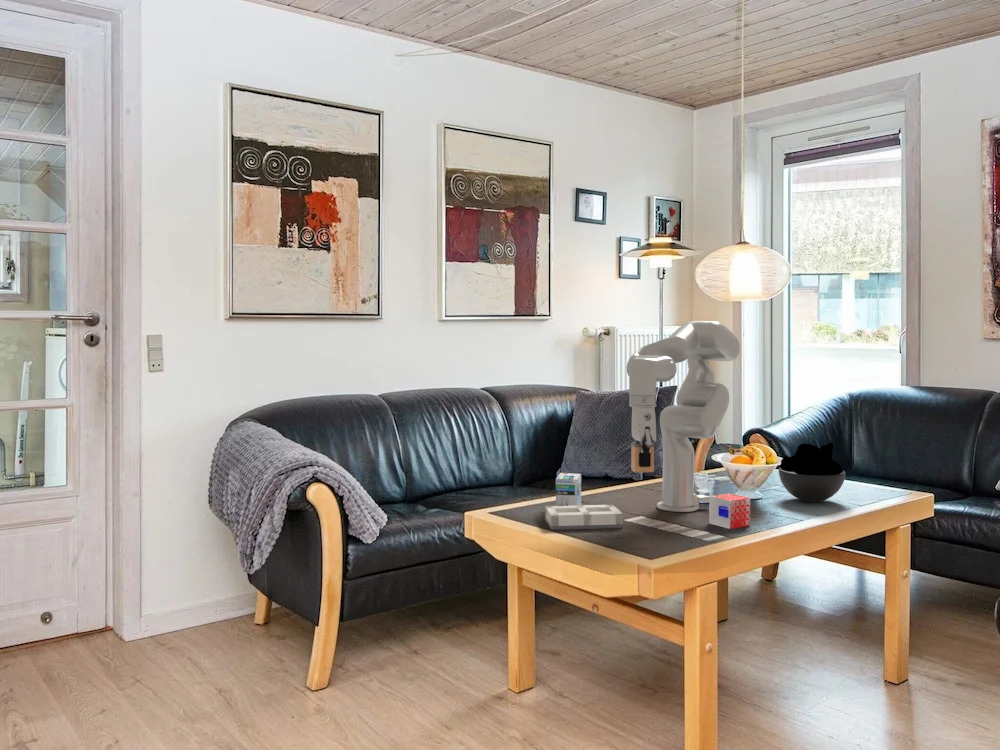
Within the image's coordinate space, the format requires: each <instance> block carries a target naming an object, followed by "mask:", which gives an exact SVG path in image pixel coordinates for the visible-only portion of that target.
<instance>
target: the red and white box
mask: <svg viewBox="0 0 1000 750" xmlns="http://www.w3.org/2000/svg"><path fill="white" fill-rule="evenodd" d="M708 496H709V495H708ZM708 504H709V508H708V509H709V512H708V523H709V524H710V525H713V526H714V525H715V526H718V527H722V528H724V529H728V530H730V529H731V530H732V529H737V528H738V529H739V528H742V527H743V528H744V527H749V526H751V497H747V496H743V495H739V494H736V493H735V494H734V493H730V492H729V493H728V492H727V493H721V494H714V495H710V496H709V502H708Z"/></svg>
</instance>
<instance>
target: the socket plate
mask: <svg viewBox="0 0 1000 750" xmlns="http://www.w3.org/2000/svg"><path fill="white" fill-rule="evenodd" d="M623 515H624V514H623V512H622V511H621V510H619V508H617V507H616V506H615V505H614V504H585V505H584V504H581V505H574V506H556V505H545V506H544V522H545V523H546V524H547V525H548V527H549V528H550V530H551V531H552V530H553V531H554V530H562V531H563V530H591V529H594V530H596V529H623V528H624V527H623V524H624V516H623Z"/></svg>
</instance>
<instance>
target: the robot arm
mask: <svg viewBox="0 0 1000 750" xmlns="http://www.w3.org/2000/svg"><path fill="white" fill-rule="evenodd" d="M740 344H741V343H740V341H739V338H738V337H737V336H736V334H734V332H733V331H732V330H730V329H729V328H728V327H727V326H726V325H724V324H723V323H721V322H719V321H715V320H691V321H686V322H685V323H683V324H682V325H680V327H678V328H677V329H676V330H675V331H673V333H672V334H670V335H669V336H668V337H665V338H663V339H660V340H657V341H655V342H652V343H649V344H645V345H643V346H642V347H640V348H638V350H636V351H635V352H633V354H632V355H631V356H630V357H629V358H628V360H627V364H626V374H627V376H628V377H629V379H628V380H629V382H628V383H629V388H628V389H629V391H628V392H629V393H628V395H629V399H628V400H629V401H628V402H629V404H628V406H629V408H631V409H632V410H631V436H632V438H633V439H634V442H640V453H639V466H640V467H650V466H651V443H655V442H656V441H657V421H656V410H655V408H656V407H657V383H667V382H669V381H671V380H673V378H674V377H675V375H676V374H677V364H679V363H682V362H684V361H686V362H687V366H688V367H687V368H688V372H687V374H686V377H685V379H684V380H683V382H682V384H681V386H680V388H679V390H678V392H677V395H676V399H675V400H676V401H675V402H676V404H673V405H668V406H666V407H664V408H663V409H662V410H661V412H660V415H659V427H660V430H661V438H662V482H661V483H662V488H661V489H662V492H661V493H662V496H661V501H659V502H657V504H656V507H657V509H659V510H662V511H667V512H672V513H673V512H674V513H688V512H689V513H690V512H695V511H698V510H699V509H700V505H699V504H700V503H709V495H702V494H699V495H698V494H696V493H695V449H694V446H693V444H692V442H691V441H690V439H689V438H693V439H700V440H701V439H702V440H703V439H711V438H713V437H714V436H715V435H716V433H717V431H718V430H719V428H720V425H721V423H722V421H723V419H724V418H725V417H724V416H725V415H726V413H727V411H728V407H729V404H730V403H729V402H730V393H729V390H728V387H727V386H726V385H725V384H722V383H719V382H715V374H714V372H713V371H712V368H711V367H710V366H709V365H708V364H707V361H708V362H717V361H718V362H732V361H734V360H736V359H737V358H738V357H739V355H740V350H741V345H740ZM643 444H644V446H643Z"/></svg>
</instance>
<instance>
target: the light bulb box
mask: <svg viewBox="0 0 1000 750" xmlns="http://www.w3.org/2000/svg"><path fill="white" fill-rule="evenodd" d="M574 505H582V474H581V473H568V472H560V473H559V474H558V475H557V477H556V478H555V506H574Z"/></svg>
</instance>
